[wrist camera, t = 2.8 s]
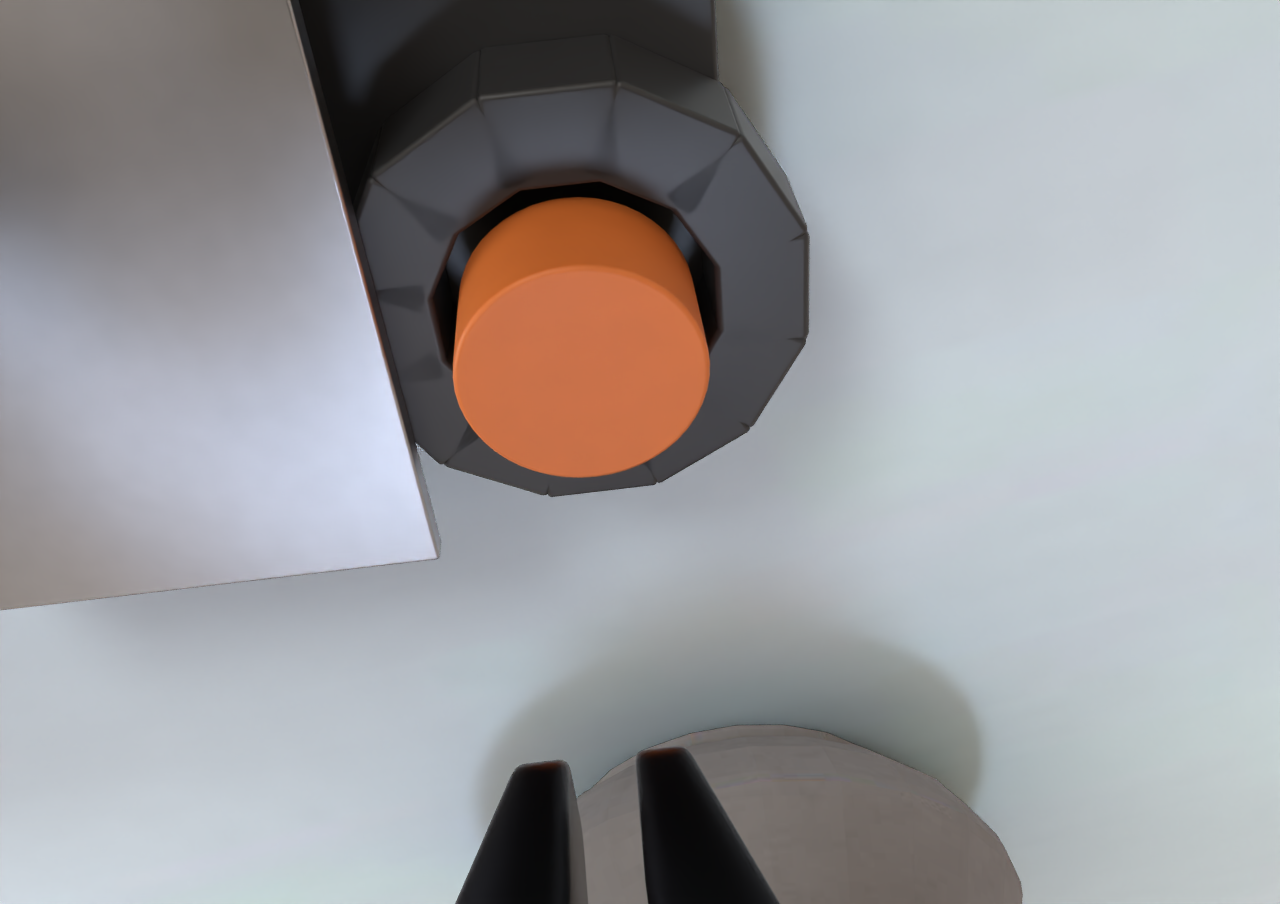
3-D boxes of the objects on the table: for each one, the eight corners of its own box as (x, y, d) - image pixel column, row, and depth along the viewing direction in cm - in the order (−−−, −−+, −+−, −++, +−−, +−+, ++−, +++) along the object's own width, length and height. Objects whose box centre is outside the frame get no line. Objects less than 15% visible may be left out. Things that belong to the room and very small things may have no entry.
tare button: (700, 384, 16) (716, 464, 14) (481, 410, 16) (476, 493, 14) (686, 181, 14) (704, 251, 13) (438, 210, 14) (428, 283, 13)
